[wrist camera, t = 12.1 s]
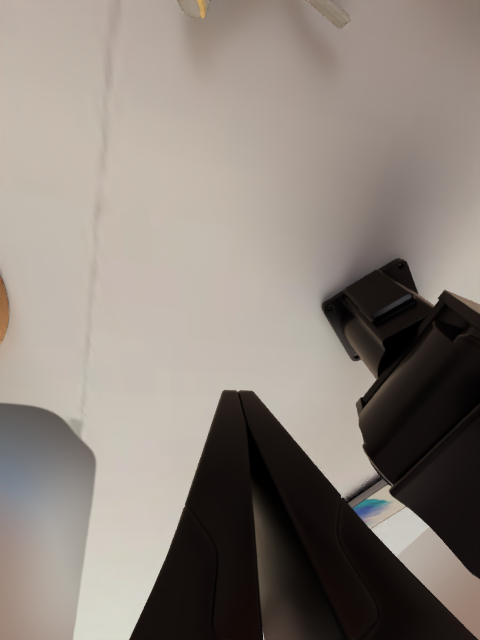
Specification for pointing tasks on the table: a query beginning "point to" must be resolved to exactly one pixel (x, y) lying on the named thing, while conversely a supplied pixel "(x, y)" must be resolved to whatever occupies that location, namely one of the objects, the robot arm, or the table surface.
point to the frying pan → (196, 3)
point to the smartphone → (376, 504)
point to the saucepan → (3, 311)
